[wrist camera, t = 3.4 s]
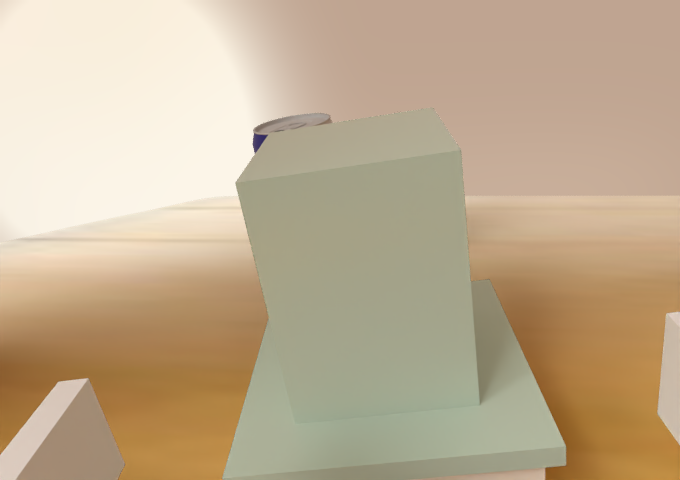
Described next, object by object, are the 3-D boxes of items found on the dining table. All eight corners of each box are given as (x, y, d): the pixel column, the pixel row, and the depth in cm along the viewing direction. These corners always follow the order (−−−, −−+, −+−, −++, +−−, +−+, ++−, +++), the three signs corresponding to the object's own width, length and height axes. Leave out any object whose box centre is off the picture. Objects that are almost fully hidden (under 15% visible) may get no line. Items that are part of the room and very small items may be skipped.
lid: (228, 496, 18) (136, 220, 14) (275, 319, 28) (229, 129, 24) (566, 465, 17) (567, 159, 13) (490, 293, 27) (478, 90, 23)
